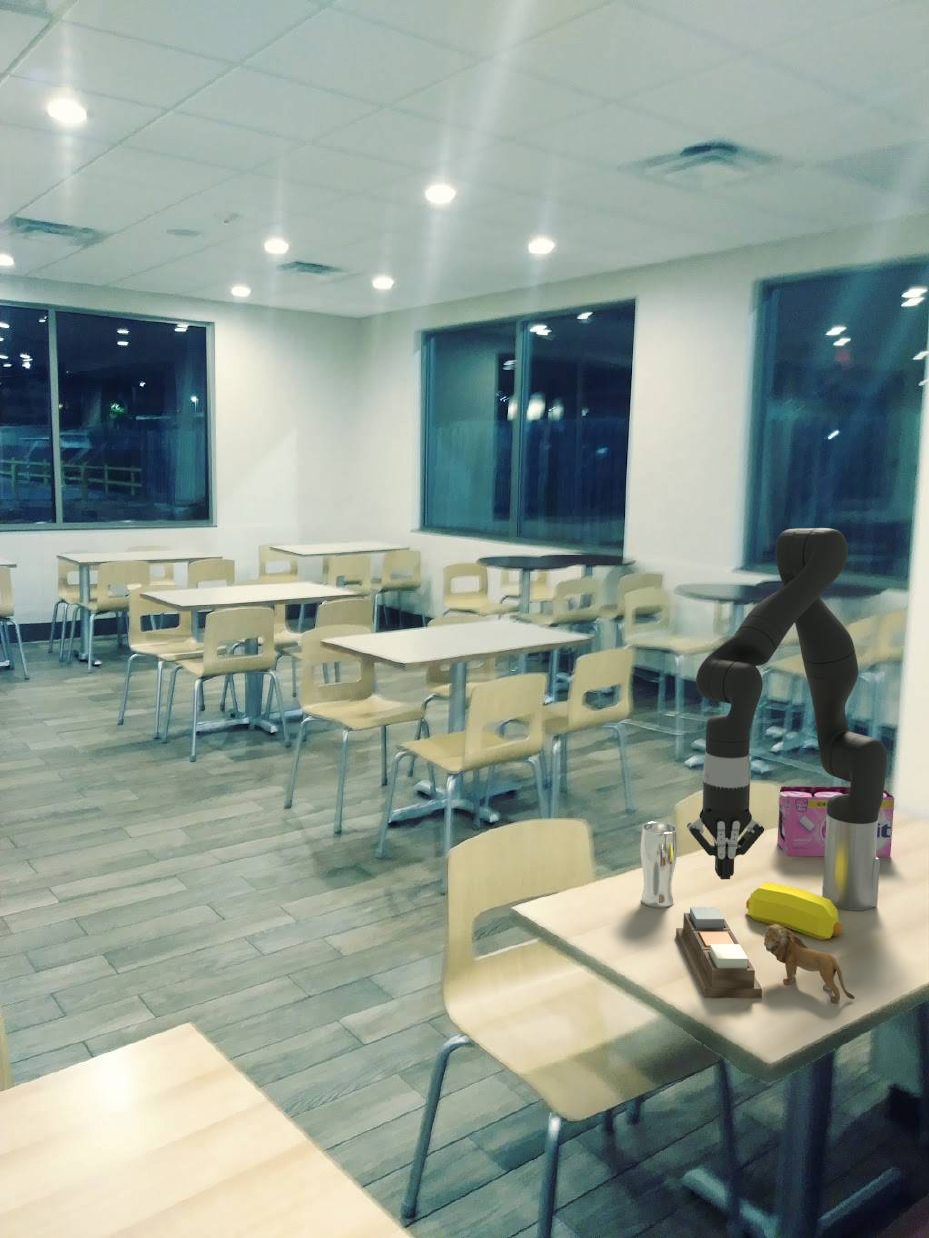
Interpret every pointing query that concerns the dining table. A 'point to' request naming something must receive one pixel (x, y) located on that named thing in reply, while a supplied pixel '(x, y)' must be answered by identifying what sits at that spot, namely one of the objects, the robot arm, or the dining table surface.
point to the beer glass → (658, 863)
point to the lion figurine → (803, 958)
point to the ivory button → (728, 956)
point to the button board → (706, 974)
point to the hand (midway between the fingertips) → (724, 877)
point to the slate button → (706, 917)
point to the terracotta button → (715, 938)
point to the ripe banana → (794, 910)
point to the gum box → (821, 820)
